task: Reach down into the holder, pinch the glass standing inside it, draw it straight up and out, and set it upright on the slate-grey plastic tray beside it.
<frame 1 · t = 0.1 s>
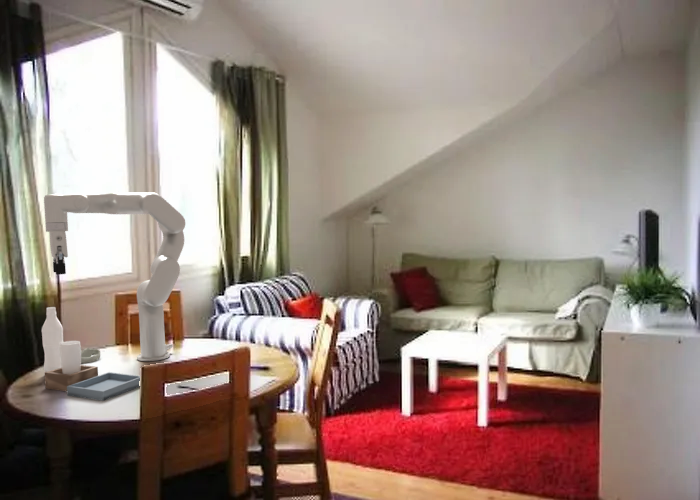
hand: (59, 273, 230), 37 cm above the table, tool pointing down, fingers open, 9 cm apart
water bottle: (55, 374, 229), on the table
tray: (106, 389, 207), on the table
wristwatch: (90, 361, 248), on the table
holder: (72, 385, 214), on the table
drinking glass: (72, 385, 214), resting in holder
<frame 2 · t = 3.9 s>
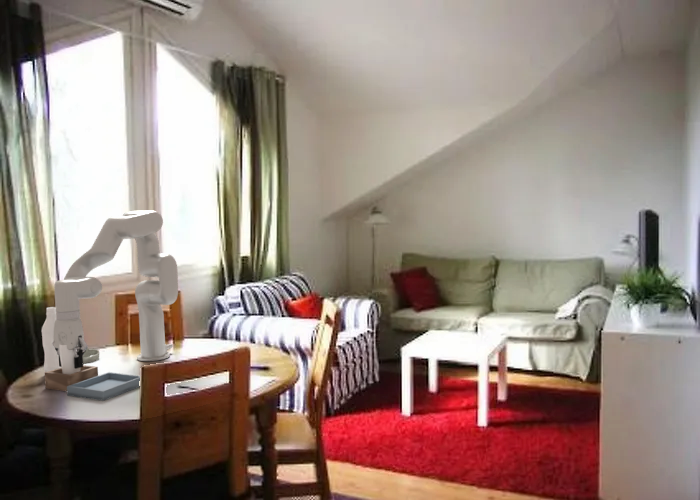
hand: (71, 366, 213), 7 cm above the table, tool pointing down, fingers closed on drinking glass, 6 cm apart
drinking glass: (72, 385, 214), resting in holder, touching gripper
everything else where it was.
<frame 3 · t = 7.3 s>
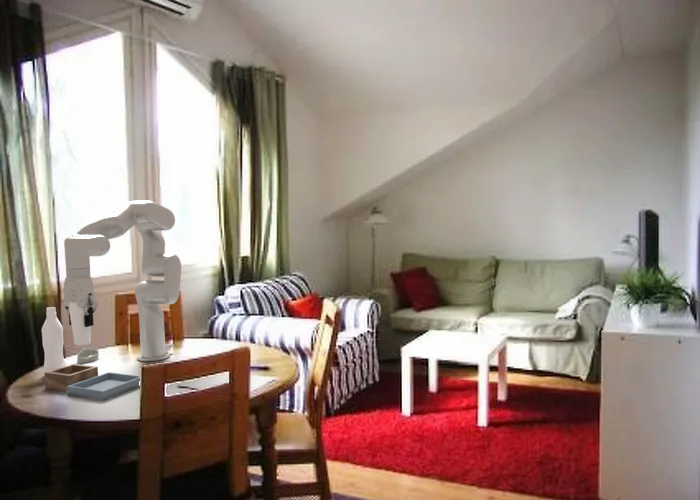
hand: (81, 325, 210), 22 cm above the table, tool pointing down, fingers closed on drinking glass, 6 cm apart
drinking glass: (82, 345, 210), point 15 cm above the table, touching gripper
everything else where it was.
when the fingers open (9 cm above the table, at t = 11.0 s): drinking glass drops 1 cm, resting on tray.
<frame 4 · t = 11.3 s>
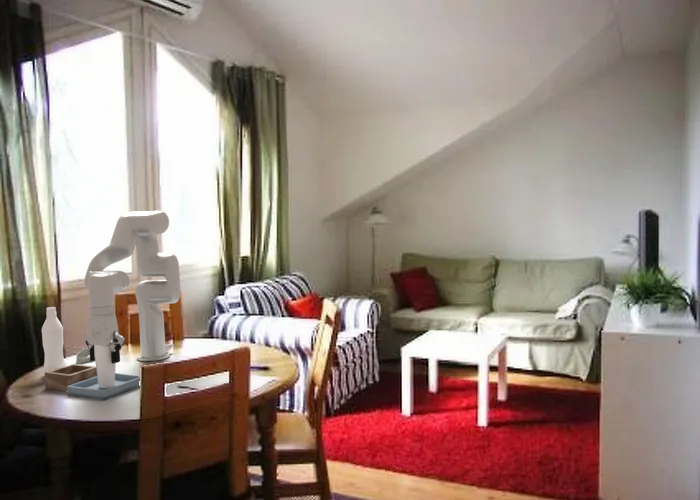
hand: (105, 361, 207), 10 cm above the table, tool pointing down, fingers open, 9 cm apart
drinking glass: (106, 387, 207), point 1 cm above the table, touching tray
everything else where it was.
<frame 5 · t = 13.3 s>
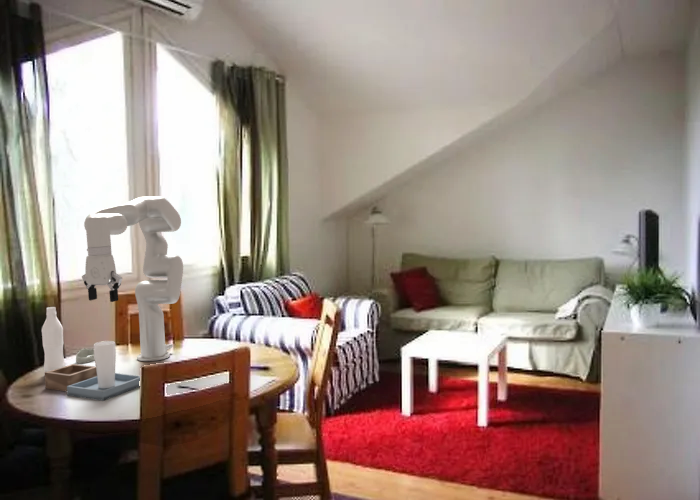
hand: (103, 300, 214), 29 cm above the table, tool pointing down, fingers open, 9 cm apart
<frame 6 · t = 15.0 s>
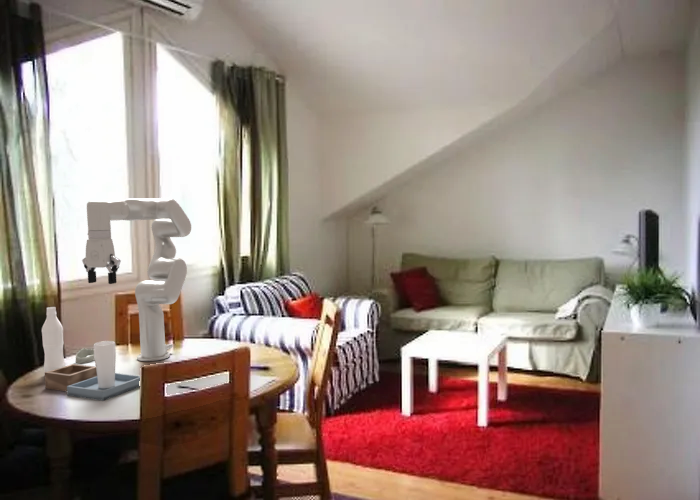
hand: (102, 283, 221), 34 cm above the table, tool pointing down, fingers open, 9 cm apart
at the end: drinking glass inside the target area on the tray (0.1 cm from its centre), point 0.8 cm above the tray's base; drinking glass tilted 0°; the gripper is holding nothing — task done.
